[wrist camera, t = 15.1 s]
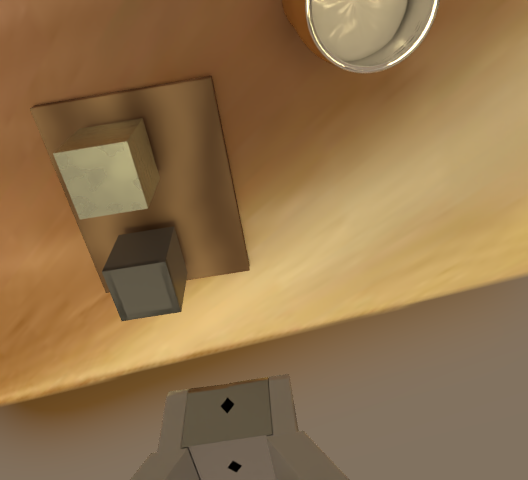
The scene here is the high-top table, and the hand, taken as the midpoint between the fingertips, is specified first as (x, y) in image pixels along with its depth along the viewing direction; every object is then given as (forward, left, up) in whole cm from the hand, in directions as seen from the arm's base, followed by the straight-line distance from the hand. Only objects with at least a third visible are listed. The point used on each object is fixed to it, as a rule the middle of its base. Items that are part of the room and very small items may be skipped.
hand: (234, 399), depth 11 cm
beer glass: (-8, -7, -31) cm, 33 cm away
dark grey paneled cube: (+10, +12, -29) cm, 33 cm away
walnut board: (+9, +7, -31) cm, 33 cm away
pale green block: (+10, +2, -30) cm, 32 cm away
